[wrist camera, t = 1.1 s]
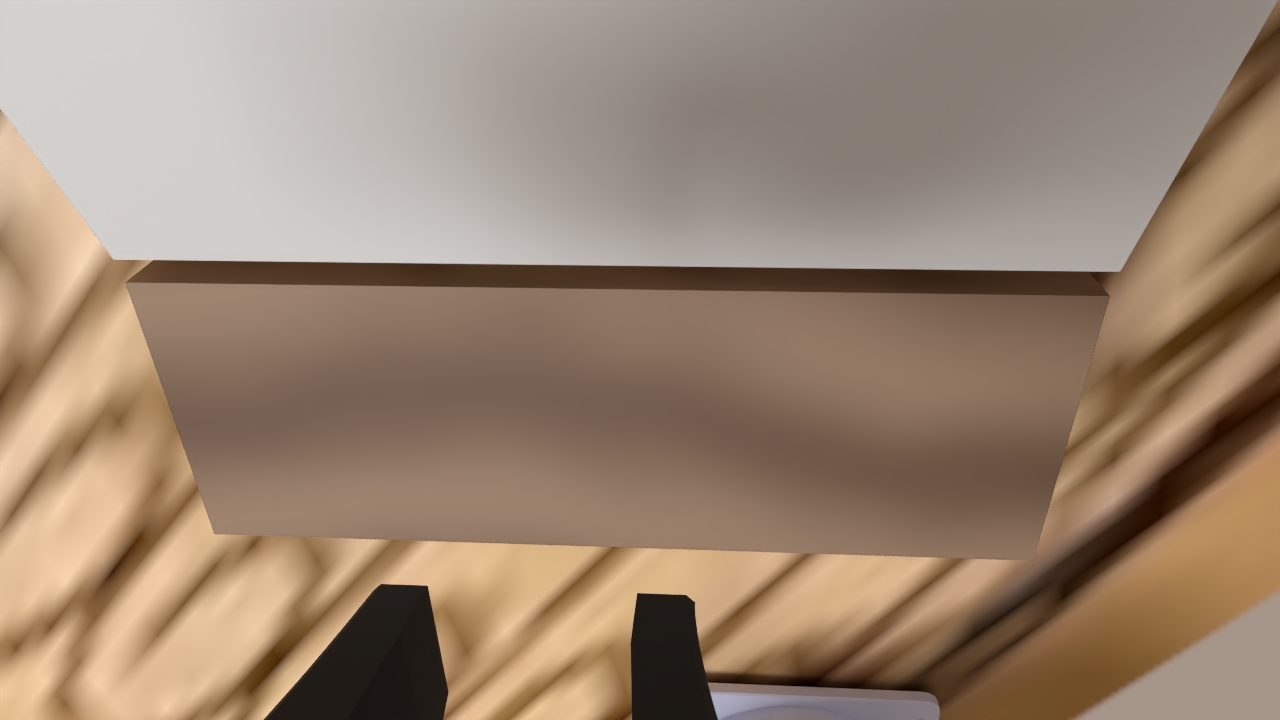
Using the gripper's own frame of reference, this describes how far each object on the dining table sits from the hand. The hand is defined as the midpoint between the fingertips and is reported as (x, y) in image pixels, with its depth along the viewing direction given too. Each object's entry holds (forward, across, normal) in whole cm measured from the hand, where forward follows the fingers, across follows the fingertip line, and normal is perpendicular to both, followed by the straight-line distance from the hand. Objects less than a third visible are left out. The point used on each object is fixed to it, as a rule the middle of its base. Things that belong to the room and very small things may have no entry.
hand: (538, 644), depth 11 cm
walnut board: (+9, 0, +2) cm, 10 cm away
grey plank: (+8, 0, -6) cm, 10 cm away
